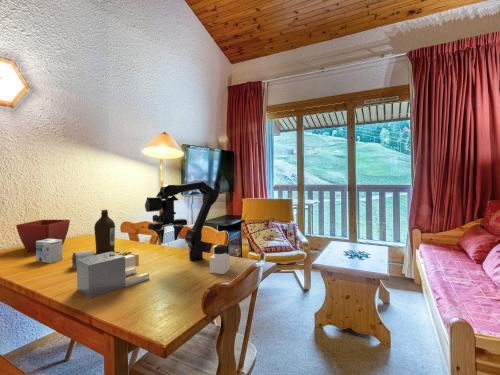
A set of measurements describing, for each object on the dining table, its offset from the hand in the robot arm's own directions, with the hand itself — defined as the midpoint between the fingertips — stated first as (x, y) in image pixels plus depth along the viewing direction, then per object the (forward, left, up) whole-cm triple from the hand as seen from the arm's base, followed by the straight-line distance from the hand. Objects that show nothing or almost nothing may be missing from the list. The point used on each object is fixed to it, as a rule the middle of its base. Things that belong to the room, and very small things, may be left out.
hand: (168, 241), depth 127 cm
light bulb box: (+60, -30, -12) cm, 68 cm away
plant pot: (+72, -58, -12) cm, 93 cm away
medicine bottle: (-22, +16, -12) cm, 30 cm away
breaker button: (+19, +15, -6) cm, 25 cm away
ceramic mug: (+41, -14, -12) cm, 45 cm away
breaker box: (+22, +16, -12) cm, 30 cm away
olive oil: (+35, -37, -12) cm, 52 cm away
